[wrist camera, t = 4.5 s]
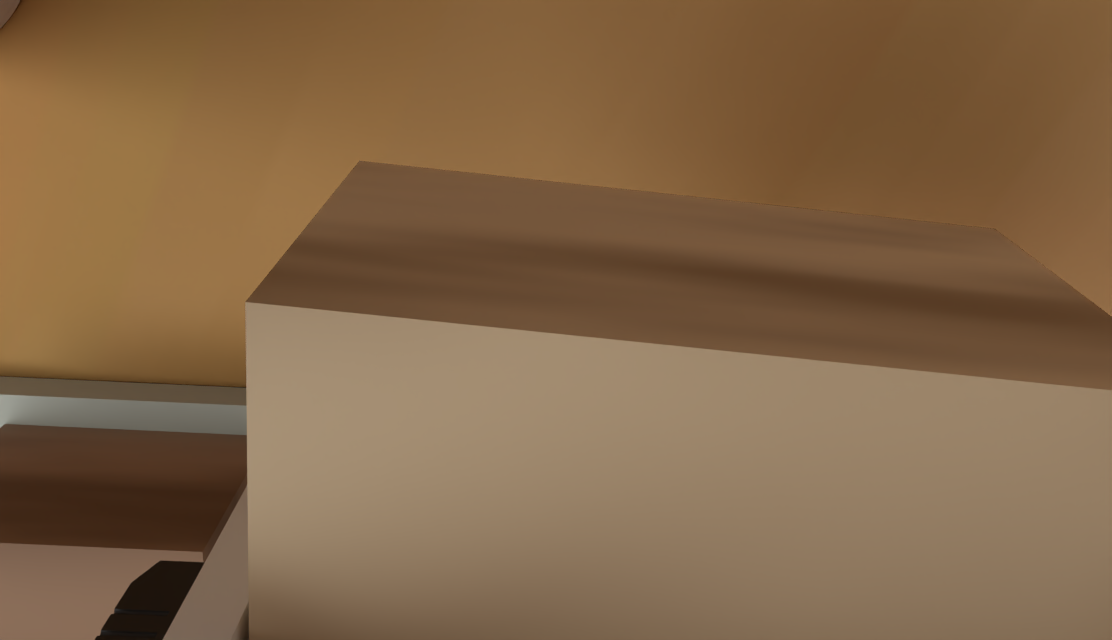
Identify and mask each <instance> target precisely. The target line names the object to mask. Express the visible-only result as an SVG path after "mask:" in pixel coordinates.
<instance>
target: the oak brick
mask: <svg viewBox="0 0 1112 640" xmlns="http://www.w3.org/2000/svg"><path fill="white" fill-rule="evenodd" d="M245 304H246V400H247V496H248V592H249V640H1112V317H1111V316H1110V315H1109V314H1107V313H1106V312H1105V311H1103V310H1102V309H1101V308H1099V307H1098V306H1097V305H1095V304H1094V303H1093V302H1091V301H1090V300H1089V299H1087V298H1086V297H1085V296H1083V295H1082V294H1081V293H1079V292H1078V291H1077V290H1075V289H1074V288H1073V287H1071V286H1070V285H1069V284H1067V283H1066V282H1065V281H1063V280H1062V279H1061V278H1059V277H1058V276H1057V275H1056V274H1054V273H1053V272H1052V271H1050V270H1049V269H1048V268H1046V267H1045V266H1044V265H1042V264H1041V263H1040V262H1038V261H1037V260H1036V259H1034V258H1033V257H1032V256H1030V255H1029V254H1028V253H1026V252H1025V251H1024V250H1022V249H1021V248H1020V247H1018V246H1017V245H1016V244H1014V243H1013V242H1012V241H1010V240H1009V239H1008V238H1006V237H1005V236H1004V235H1002V234H1001V233H1000V232H998V231H997V230H996V229H991V228H982V227H972V226H963V225H954V224H944V223H935V222H926V221H916V220H907V219H898V218H888V217H879V216H870V215H860V214H851V213H842V212H832V211H823V210H814V209H804V208H795V207H786V206H776V205H767V204H758V203H748V202H739V201H730V200H720V199H711V198H701V197H692V196H683V195H673V194H664V193H655V192H645V191H636V190H627V189H617V188H608V187H599V186H589V185H580V184H571V183H561V182H552V181H543V180H533V179H524V178H515V177H505V176H496V175H487V174H477V173H468V172H459V171H449V170H440V169H431V168H421V167H412V166H402V165H393V164H384V163H374V162H365V161H359V162H358V163H357V165H356V166H355V167H354V168H353V170H352V171H351V172H350V173H349V175H348V176H347V177H346V178H345V180H344V181H343V182H342V183H341V184H340V186H339V187H338V188H337V189H336V191H335V192H334V193H333V194H332V196H331V197H330V198H329V199H328V201H327V202H326V203H325V204H324V205H323V207H322V208H321V209H320V210H319V212H318V213H317V214H316V215H315V217H314V218H313V219H312V220H311V222H310V223H309V224H308V225H307V227H306V228H305V229H304V230H303V231H302V233H301V234H300V235H299V236H298V238H297V239H296V240H295V241H294V243H293V244H292V245H291V246H290V248H289V249H288V250H287V251H286V252H285V254H284V255H283V256H282V257H281V259H280V260H279V261H278V262H277V264H276V265H275V266H274V267H273V269H272V270H271V271H270V272H269V274H268V275H267V276H266V277H265V278H264V280H263V281H262V282H261V283H260V285H259V286H258V287H257V288H256V290H255V291H254V292H253V293H252V295H251V296H250V297H249V298H248V299H247V301H246V302H245Z"/></svg>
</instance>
